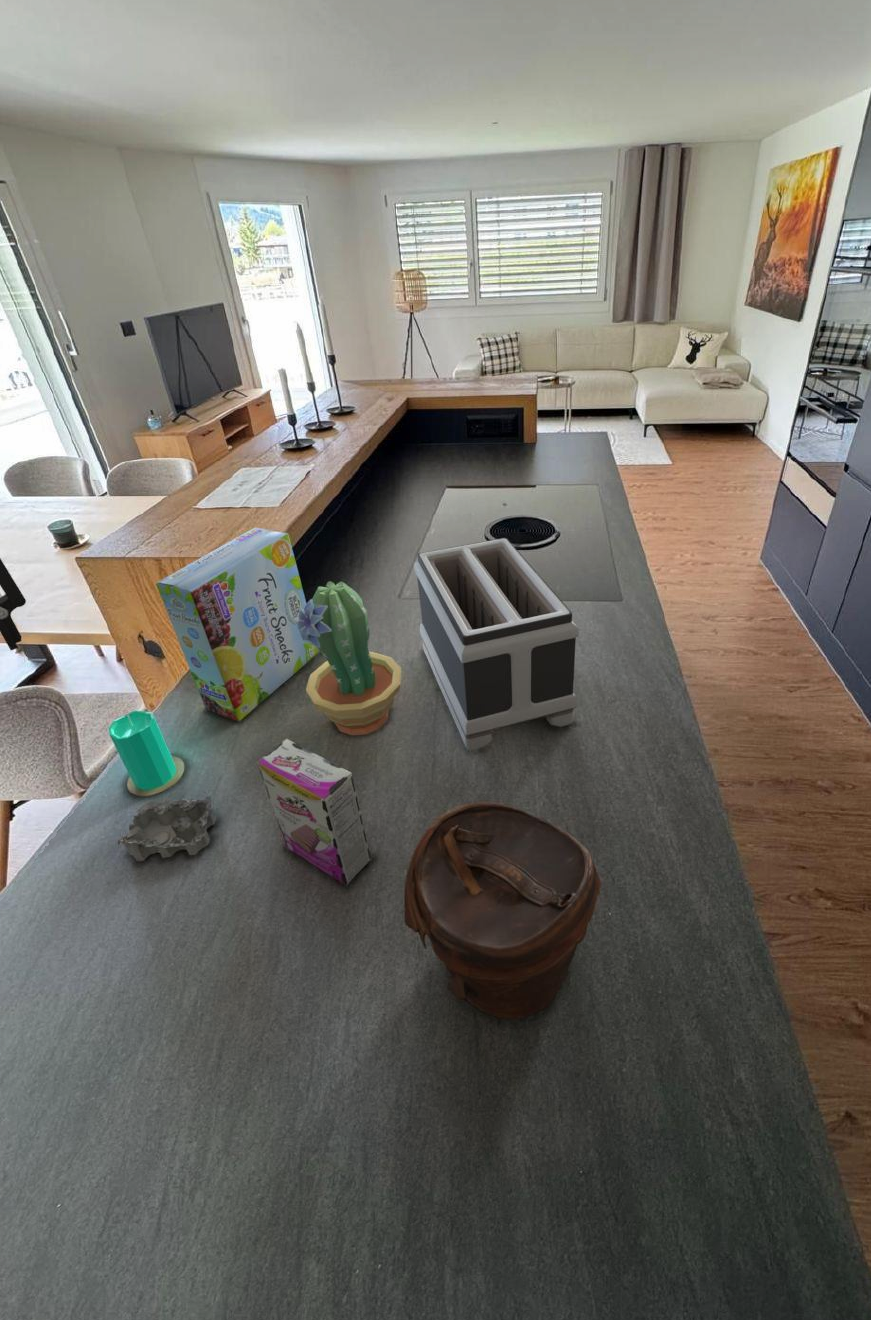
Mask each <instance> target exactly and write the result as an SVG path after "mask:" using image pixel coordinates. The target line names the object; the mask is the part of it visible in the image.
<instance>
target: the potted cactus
mask: <svg viewBox="0 0 871 1320" xmlns="http://www.w3.org/2000/svg"><path fill="white" fill-rule="evenodd" d="M368 616H369V615H368V611H367V609H366V608H365V606H364V603H363V598H362V597H361V596H360V595H359V593H357V592H356V590H354V589H353V588H351V587H350V586H349V585H347V584H346V583H345V582H343V581H339V582H337V583H336V584H335V583H334V582H333V581H327V583H326V585H325V586H318V587H317V589H316V590H315V593H314V595H313V597H312V598H311V599H309V600H308V602H306V606H305V607H304V609H301V611H300V613H299V616H298V618H299V621H297V624H298V629H299V630H300V634H301V636H302V639H303V641H305V640H306V641H307V642H308V641H310V642H311V643H312V644H314V645H315V646H316V647H317V648H318V650H319V652H320V653H321V655H323V656H324V657H325V659H326V661H324V663H322V664H321V665H320V666H319V667H317V668H316V669H315V670H314V671H313V672H312V673H310V675H309V678H308V681H307V684H306V686H305V687H306V688H305V691H306V694H307V695H308V697H309V698H310V700H311V702H312V703H313V705H314V707H315V708H316V709H317V710H318V711H319V712H323V713H324V714H325V716H326V717H327V718H328V720H329V721H331V722H333V723H334V724H335V726H336V728H337V729H338V731H339V732H342V733H344V734H347V735H349V736H359V735H363V736H364V735H367V734H370V733H372V732H374V731H377V730H380V728H381V727H383V725H384V724H385V723H386V722H387V721H388V719H389V718H388V717H389V710H390V709H391V708H392V706H393V704H394V701H395V697H396V695H397V694H398V693H399V692H400V689H401V681H402V673H403V672H402V671H403V669H402V667H401V666H400V665H399V664H398V662H396V660H394V659H393V658H392V657H391V656H388V655H385V654H381V653H377V652H375V651H369V641H370V625H369V624H370V623H369V617H368Z"/></svg>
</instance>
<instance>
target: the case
mask: <svg viewBox="0 0 871 1320" xmlns="http://www.w3.org/2000/svg"><path fill="white" fill-rule="evenodd" d="M601 886H602V880H601V878H600V876H599V872H598V870H597V868H596V865H595V863H594V861H593V858H592V855H591V853H590V852H589V850H588V849H587V848H586V847H585V845H583V844H582V843H581V842H580V841H579V840H578V839H577V838H575V837H574V836H573V835H572V834H571V833H569V832H568V831H566V830H565V829H563V828H561V827H560V826H558V825H557V824H555V823H553V822H552V821H550V820H548V819H547V818H544V817H541V816H539V815H536V814H533V813H531V812H529V811H526V810H524V809H522V808H518V807H515V806H512V805H507V804H504V803H500V802H493V801H475V802H474V801H473V802H467V803H464V804H462V805H458V806H456V807H453V808H451V809H450V810H447V811H445V812H444V813H442V814H441V815H440V816H438V817H437V818H436V819H435V821H433V822H432V824H430V825H429V827H428V828H427V829H426V830H425V832H424V833H423V835H422V836H421V838H420V839H419V841H418V843H417V845H416V846H415V848H414V851H413V853H412V856H411V858H410V862H409V866H408V869H407V872H406V877H405V883H404V892H403V897H404V898H403V902H404V903H403V904H404V924H405V925H406V926H407V928H408V929H410V930H412V931H413V932H414V933H417V934H418V936H419V939H420V940H421V943H422V946H423V948H424V949H425V950H427V944H426V936H427V937H428V939H429V941H430V944H431V947H432V950H433V952H434V954H435V956H436V957H437V959H439V960H440V961H441V963H443V964H444V966H445V968H446V970H447V972H448V974H449V976H450V977H451V979H450V980H449V983H448V985H447V991H449V992H450V993H451V995H452V996H453V997H455V998H456V1000H458V1001H460V1002H463V1001H464V1000H465V999H467V1001H468V1002H470V1004H471V1005H473V1006H475V1008H477V1009H478V1010H481V1011H482V1012H485V1013H486V1014H488V1015H490V1016H494V1017H497V1018H502V1019H520V1018H524V1017H529V1016H531V1015H533V1014H535V1013H537V1012H539V1011H540V1010H543V1009H544V1008H545V1007H546V1006H548V1005H549V1004H550V1003H551V1002H552V1000H554V998H555V997H556V995H557V994H558V992H559V990H560V988H561V986H562V984H563V982H564V979H565V977H566V974H567V972H568V970H569V968H570V966H571V963H572V960H573V958H574V956H575V954H576V951H577V948H578V947H579V945H580V944H581V943H582V942H583V941H584V939H585V938H586V935H587V929H588V927H589V923H590V922H591V921H592V918H593V916H594V912H595V909H596V904H597V902H598V896H599V895H600V890H601Z"/></svg>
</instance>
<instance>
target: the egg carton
mask: <svg viewBox="0 0 871 1320" xmlns="http://www.w3.org/2000/svg"><path fill="white" fill-rule="evenodd" d="M216 820H217V818H216V816H215V814H214V812H213V809H212V796H211V795H209V796H206V797H203V798H199V799H193V798H191V799H190V800H188V799H186V798H182V799H179V800H170V801H158V800H157V801H149V802H147V803H145V804H144V805H142V806H141V807H140V808H138V810H137V811H136V813H135V814H134V815H133V819H132V821H131V823H129V826H128V827H129V828H128V829H129V831H128V833H127V835H126V834H123V835H122V837H121V839H120V840H118V841H117V846H119V845H121V844H122V845H124V847H125V849H126V850H127V852H128V854H129V856H132V857H133V858H134V859H135V861H137V862H144V861H145V860H146V859H147V858H148V857H149V856H151V855H153V854H158V853H159V854H160V855H161V857H162V859H165V858H171V857H173V856H174V854H176V853H177V852H179V851H182V850H186V851H187V853H188V855H189V856H196V855H198V853H199V852H200V851H201V850H202V849H204V848H206V847H207V846H209V843H210V841H211V839H210V836H209V834H208V831H207V830H208V829H209V828H210V827H212V826H214V825H215V823H216Z"/></svg>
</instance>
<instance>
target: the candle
mask: <svg viewBox="0 0 871 1320" xmlns="http://www.w3.org/2000/svg"><path fill="white" fill-rule="evenodd" d="M108 734H109V737H110V739H111V741H112V743H113V746H114V747H115V749H116V751H117V753H118V755H119V758H120V759H121V761H122V763H123V765H124V767H125V769H126V771H127V773H128V775H129V777H131V779H132V781H133V783H134V785H135V787H137V788H139V789H141V790H153V789H155V788H158V787H160V786H163V785H164V784H166V783H167V782H168V781H169V780H171V779H172V778H173V776H174V774H175V772H176V767H175V763H174V761H173V759H172V756H173V755H172V753H171V752H170V750H169V747H168V745H167V743H166V740H165V738H164V736H163V734H162V731H161V729H160V727H159V724H158V722H157V720H156V717H155V714H154V713H153V712H150V711H144V710H133V711H131V712H128V713H127V714H125V715H123V716H121V717H119V718H116V719H114V720H113V721H112V722H111V724H110V726H109V727H108Z"/></svg>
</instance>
